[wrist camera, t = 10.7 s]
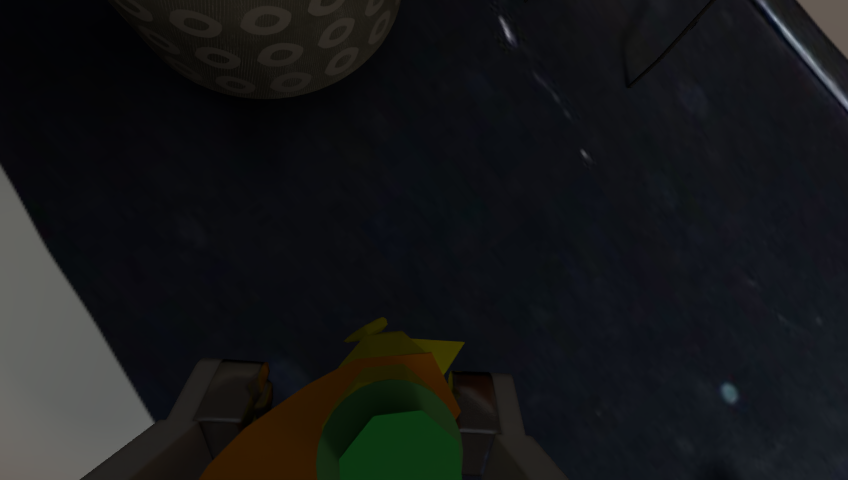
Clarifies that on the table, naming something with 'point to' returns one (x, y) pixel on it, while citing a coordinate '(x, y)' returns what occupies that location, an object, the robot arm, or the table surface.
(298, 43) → the planter
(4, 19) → the table surface
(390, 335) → the toy figure
